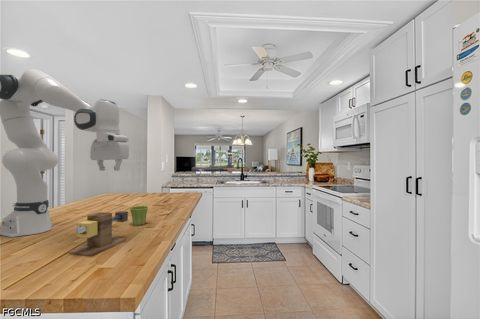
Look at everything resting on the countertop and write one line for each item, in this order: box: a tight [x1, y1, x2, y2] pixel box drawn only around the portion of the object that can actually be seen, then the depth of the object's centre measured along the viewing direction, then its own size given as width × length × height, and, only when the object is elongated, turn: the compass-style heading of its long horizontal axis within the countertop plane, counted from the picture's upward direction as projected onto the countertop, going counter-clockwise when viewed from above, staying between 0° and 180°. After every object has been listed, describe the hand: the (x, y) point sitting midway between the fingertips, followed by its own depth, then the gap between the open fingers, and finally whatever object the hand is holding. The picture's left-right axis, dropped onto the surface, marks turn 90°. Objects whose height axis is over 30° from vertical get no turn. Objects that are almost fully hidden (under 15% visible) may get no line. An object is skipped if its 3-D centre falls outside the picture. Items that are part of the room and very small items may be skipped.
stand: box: [68, 211, 127, 257], centre depth 98 cm, size 10×18×13 cm, turn 168°
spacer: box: [76, 220, 98, 239], centre depth 92 cm, size 4×5×5 cm
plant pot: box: [129, 205, 149, 226], centre depth 133 cm, size 9×9×9 cm
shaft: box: [75, 210, 129, 235], centre depth 100 cm, size 24×4×4 cm, turn 168°
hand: (109, 170), depth 107 cm, fingers open, 8 cm apart
